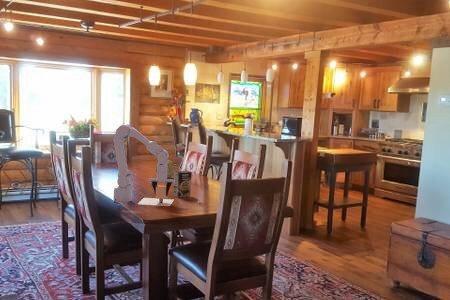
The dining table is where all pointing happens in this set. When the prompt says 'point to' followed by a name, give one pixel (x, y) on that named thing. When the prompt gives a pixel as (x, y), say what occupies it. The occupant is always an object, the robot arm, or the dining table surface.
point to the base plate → (156, 202)
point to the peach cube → (160, 192)
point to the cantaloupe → (169, 169)
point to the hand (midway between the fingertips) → (161, 195)
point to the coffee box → (182, 183)
